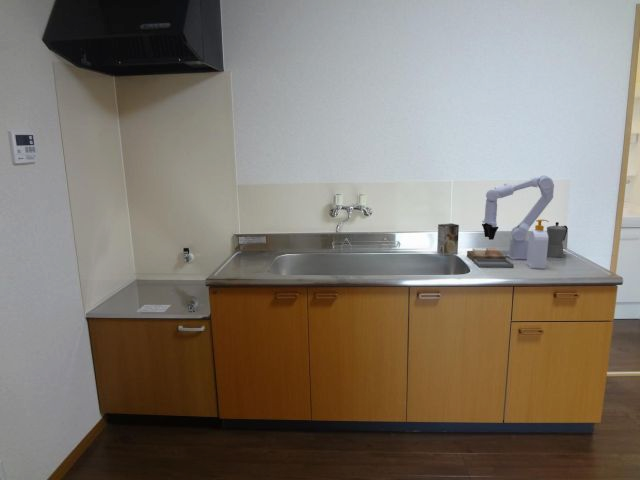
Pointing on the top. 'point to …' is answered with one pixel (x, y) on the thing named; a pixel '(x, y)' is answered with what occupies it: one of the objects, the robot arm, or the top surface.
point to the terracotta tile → (492, 251)
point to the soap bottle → (537, 247)
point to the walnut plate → (484, 256)
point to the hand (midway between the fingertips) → (489, 238)
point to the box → (493, 263)
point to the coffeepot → (556, 240)
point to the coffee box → (447, 239)
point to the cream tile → (478, 251)
